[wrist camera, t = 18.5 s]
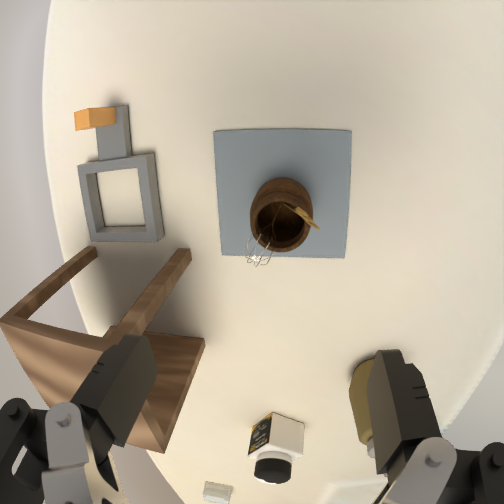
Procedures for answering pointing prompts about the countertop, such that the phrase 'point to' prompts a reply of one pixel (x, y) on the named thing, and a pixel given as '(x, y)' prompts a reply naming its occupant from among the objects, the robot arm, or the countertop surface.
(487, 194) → the countertop surface
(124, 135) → the sliding frame
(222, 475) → the countertop surface
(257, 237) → the utensil holder
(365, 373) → the squeeze bottle
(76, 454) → the robot arm
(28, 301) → the walnut shelf
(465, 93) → the countertop surface
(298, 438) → the medicine bottle
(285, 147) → the slate mat
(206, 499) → the small box
